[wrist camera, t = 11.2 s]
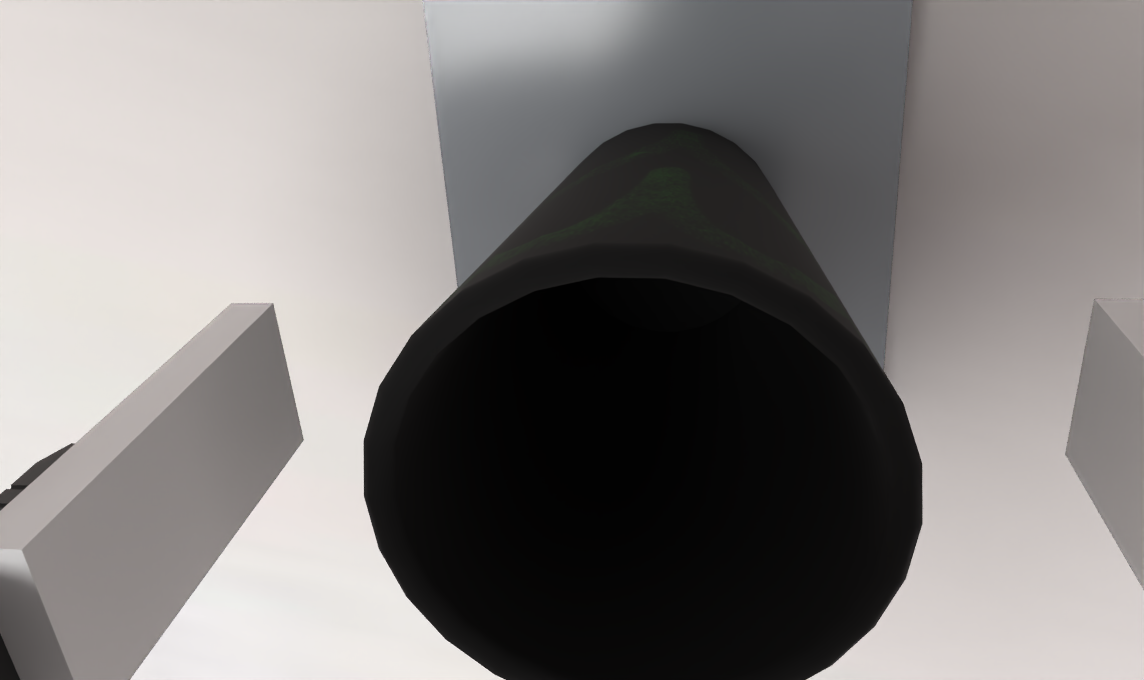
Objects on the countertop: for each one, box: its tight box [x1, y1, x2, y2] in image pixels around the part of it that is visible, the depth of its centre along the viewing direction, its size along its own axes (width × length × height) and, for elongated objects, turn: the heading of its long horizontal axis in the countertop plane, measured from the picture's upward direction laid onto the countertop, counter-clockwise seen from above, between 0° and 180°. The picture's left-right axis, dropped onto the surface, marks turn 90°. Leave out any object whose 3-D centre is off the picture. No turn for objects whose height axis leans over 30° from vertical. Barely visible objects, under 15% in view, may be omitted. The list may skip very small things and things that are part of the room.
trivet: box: [423, 0, 913, 371], centre depth 25 cm, size 12×11×2 cm
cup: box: [364, 123, 922, 680], centre depth 18 cm, size 8×8×12 cm
